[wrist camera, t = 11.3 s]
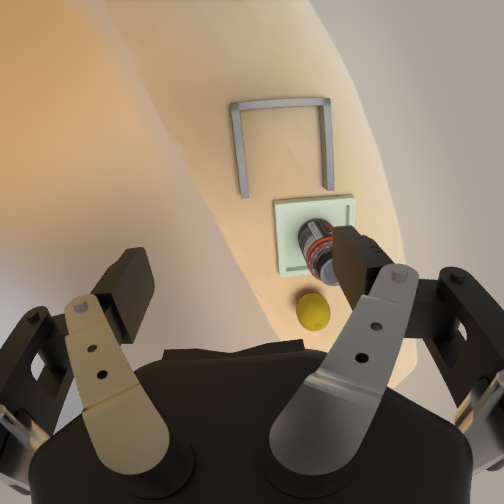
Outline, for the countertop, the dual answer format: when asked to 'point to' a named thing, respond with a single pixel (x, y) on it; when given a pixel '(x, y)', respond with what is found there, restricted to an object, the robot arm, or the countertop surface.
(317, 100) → the holder
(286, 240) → the tray
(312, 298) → the lemon
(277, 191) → the countertop surface
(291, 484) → the robot arm
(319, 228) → the supplement bottle
